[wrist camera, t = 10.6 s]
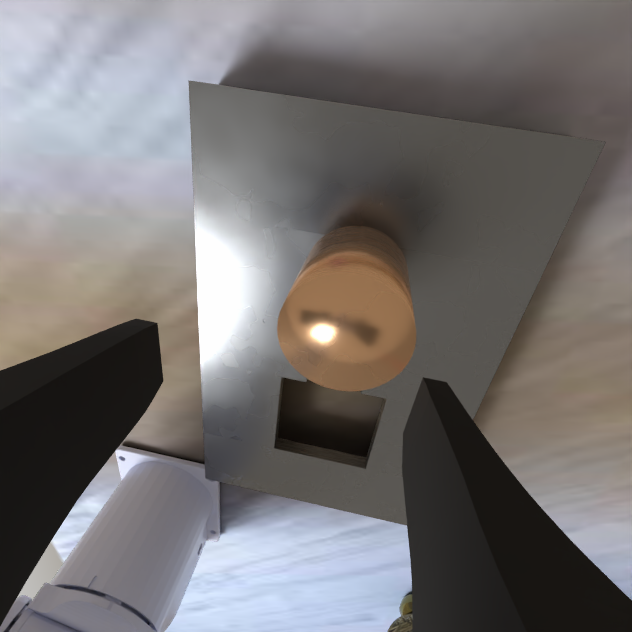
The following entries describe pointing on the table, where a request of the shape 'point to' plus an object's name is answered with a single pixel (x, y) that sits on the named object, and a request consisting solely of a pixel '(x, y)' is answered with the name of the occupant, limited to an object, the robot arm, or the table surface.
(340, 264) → the copper peg
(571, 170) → the keyhole bracket
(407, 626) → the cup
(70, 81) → the table surface
